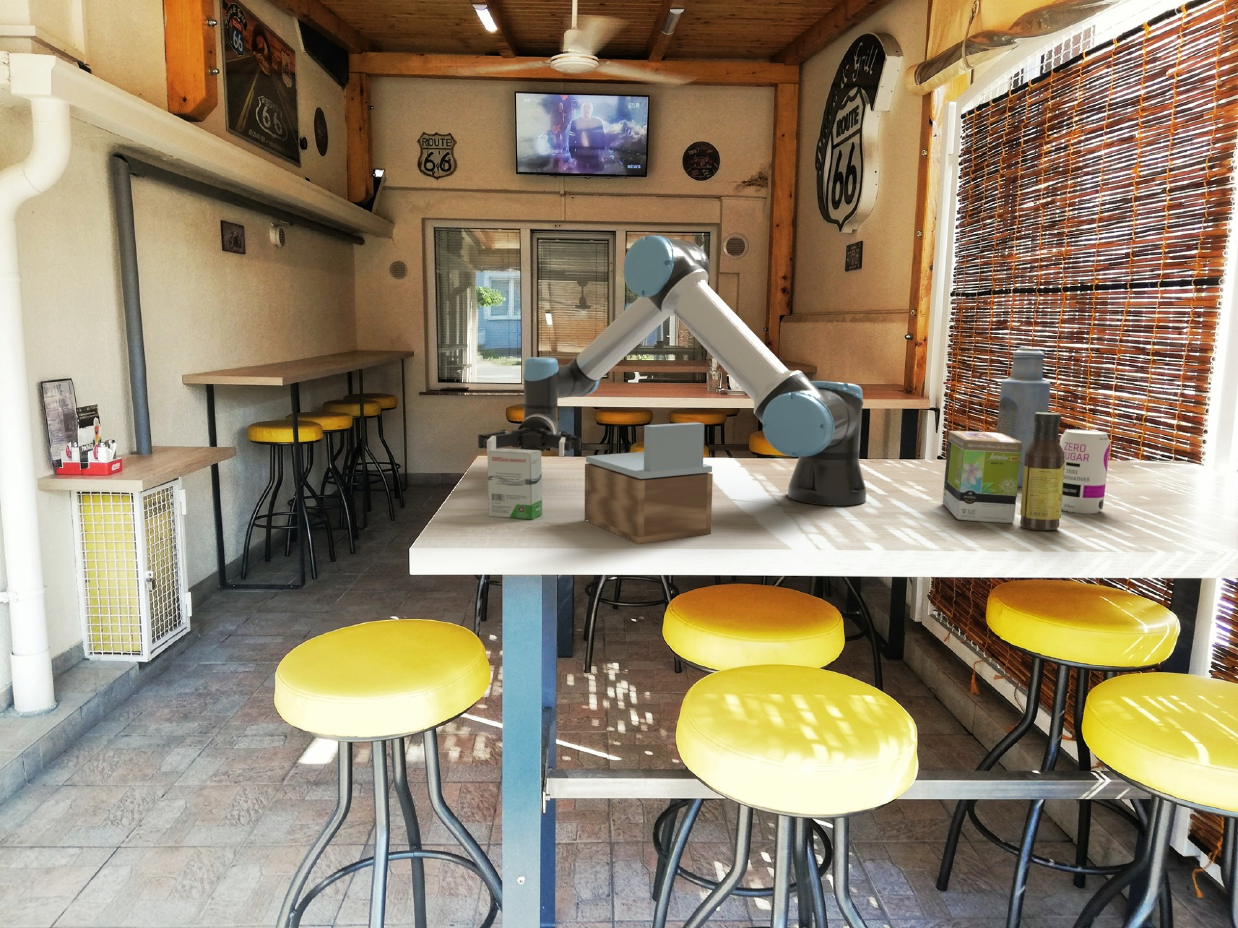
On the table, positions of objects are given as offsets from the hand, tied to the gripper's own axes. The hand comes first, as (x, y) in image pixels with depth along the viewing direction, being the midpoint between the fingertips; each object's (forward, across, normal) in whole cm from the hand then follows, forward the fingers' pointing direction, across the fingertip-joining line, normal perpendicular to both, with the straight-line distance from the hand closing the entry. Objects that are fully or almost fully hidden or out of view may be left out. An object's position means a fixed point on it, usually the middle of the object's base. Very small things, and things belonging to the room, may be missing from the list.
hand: (524, 448), depth 156 cm
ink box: (+10, 0, -11) cm, 15 cm away
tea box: (+4, -84, -10) cm, 85 cm away
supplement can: (0, -106, -10) cm, 106 cm away
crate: (+18, -22, -10) cm, 30 cm away
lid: (+18, -22, 0) cm, 29 cm away
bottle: (-27, -106, -10) cm, 110 cm away
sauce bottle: (+15, -90, -10) cm, 92 cm away
